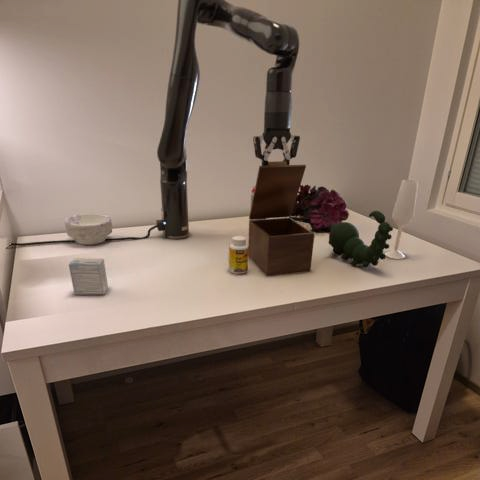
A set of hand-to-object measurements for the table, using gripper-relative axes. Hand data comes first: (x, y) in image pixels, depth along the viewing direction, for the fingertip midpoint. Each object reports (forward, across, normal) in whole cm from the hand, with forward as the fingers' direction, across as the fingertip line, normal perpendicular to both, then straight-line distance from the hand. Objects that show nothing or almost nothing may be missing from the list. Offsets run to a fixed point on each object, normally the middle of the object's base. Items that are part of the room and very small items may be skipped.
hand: (275, 173), depth 125 cm
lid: (+6, 0, +2) cm, 6 cm away
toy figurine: (+27, -24, +10) cm, 37 cm away
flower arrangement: (+25, -34, -33) cm, 54 cm away
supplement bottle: (+26, +14, +9) cm, 31 cm away
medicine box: (+26, +56, +13) cm, 63 cm away
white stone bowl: (+25, +56, -31) cm, 69 cm away
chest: (+26, 0, +6) cm, 27 cm away
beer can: (+25, -6, -30) cm, 40 cm away
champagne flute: (+27, -41, +9) cm, 50 cm away
